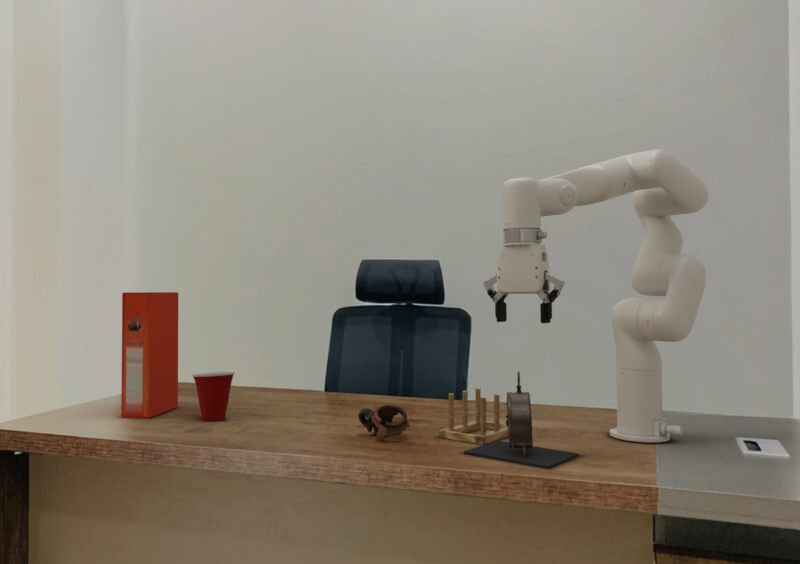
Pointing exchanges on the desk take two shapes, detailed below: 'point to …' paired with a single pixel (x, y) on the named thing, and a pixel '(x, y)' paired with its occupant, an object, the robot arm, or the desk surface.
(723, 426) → the desk surface
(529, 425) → the alarm clock
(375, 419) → the pottery mug
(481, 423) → the dowel rack
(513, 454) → the desk mat
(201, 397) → the plastic cup
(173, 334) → the file binder
